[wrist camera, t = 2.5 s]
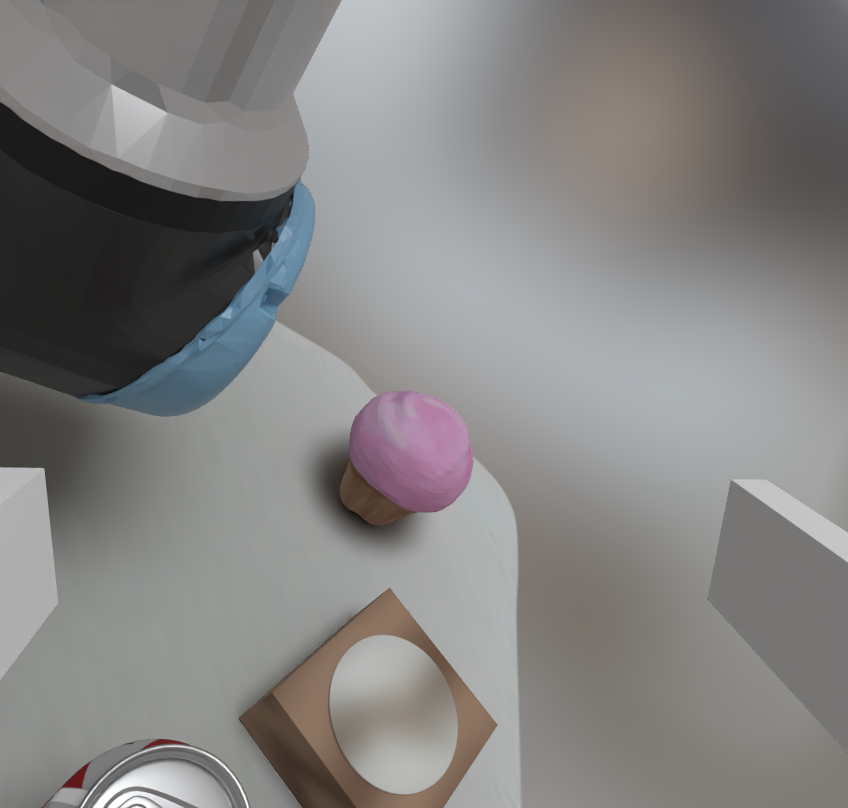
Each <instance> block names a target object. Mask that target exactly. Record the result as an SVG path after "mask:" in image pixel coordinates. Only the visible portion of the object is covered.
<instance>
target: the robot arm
mask: <svg viewBox="0 0 848 808" xmlns="http://www.w3.org/2000/svg"><path fill="white" fill-rule="evenodd" d="M340 2H341V0H0V372H3V373H6V374H9V375H12V376H15V377H18V378H21V379H24V380H27V381H30V382H33V383H36V384H39V385H42V386H45V387H48V388H51V389H54V390H57V391H60V392H63V393H66V394H69V395H71V396H74V397H76V398H78V399H79V400H82V401H84V402H88V403H98V404H102V403H108V404H112V405H116V406H120V407H124V408H127V409H131V410H135V411H139V412H143V413H147V414H151V415H156V416H164V417H166V416H178V415H182V414H186V413H189V412H191V411H194V410H196V409H198V408H200V407H202V406H203V405H205V404H206V403H208V402H209V401H211V400H212V399H214V398H215V397H216V396H217V395H218V394H219V393H220V392H222V391H223V390H224V389H225V388H226V387H227V386H228V385H229V384H230V383H231V382H232V381H233V380H234V379H235V378H236V377H237V375H238V374H239V373H240V372H241V371H242V370H243V368H244V367H245V366H246V365H247V363H248V362H249V361H250V360H251V358H252V357H253V355H254V354H255V353H256V351H257V350H258V349H259V347H260V346H261V344H262V343H263V341H264V340H265V338H266V337H267V335H268V334H269V332H270V330H271V329H272V327H273V325H274V323H275V320H276V312H277V308H278V306H279V305H280V304H281V303H282V301H283V300H284V299H285V298H286V297H287V296H288V295H289V294H290V293H291V291H292V289H293V287H294V285H295V283H296V281H297V279H298V276H299V274H300V272H301V270H302V267H303V264H304V262H305V259H306V256H307V253H308V250H309V247H310V243H311V239H312V235H313V230H314V223H315V203H314V200H313V198H312V195H311V193H310V191H309V189H307V187H306V186H304V185H303V184H302V182H301V180H300V178H301V176H302V174H303V172H304V170H305V168H306V165H307V162H308V158H309V146H308V140H307V135H306V131H305V129H304V126H303V123H302V120H301V117H300V114H299V111H298V108H297V105H296V102H295V99H294V96H293V92H294V91H295V89H296V86H297V84H298V83H299V81H300V79H301V77H302V75H303V73H304V71H305V69H306V67H307V66H308V64H309V62H310V60H311V58H312V56H313V54H314V52H315V50H316V48H317V46H318V45H319V43H320V41H321V39H322V37H323V35H324V33H325V31H326V29H327V27H328V25H329V23H330V21H331V20H332V18H333V16H334V14H335V12H336V10H337V8H338V6H339V4H340ZM707 600H708V601H709V602H710V603H711V604H712V605H713V606H714V607H715V608H716V610H717V611H718V612H719V613H720V614H721V615H722V616H723V617H724V618H725V619H726V621H727V622H728V623H729V624H730V625H731V626H732V627H733V628H734V629H735V630H736V631H737V633H738V634H739V635H740V636H741V637H742V638H743V639H744V640H745V641H746V643H747V644H748V645H749V646H750V647H751V648H752V649H753V650H754V651H755V652H756V654H757V655H758V656H760V658H761V659H762V660H763V661H764V662H765V663H766V664H767V666H768V667H769V668H770V669H771V670H772V671H773V672H774V673H775V674H776V675H777V677H778V678H779V679H780V680H781V681H782V682H783V683H784V684H785V685H786V686H787V687H788V689H789V690H790V691H791V692H792V693H793V694H794V695H795V696H796V697H797V699H798V700H799V701H800V702H801V703H802V704H803V705H804V706H805V707H806V708H807V709H808V711H809V712H810V713H811V714H812V715H813V716H814V717H815V718H816V719H817V720H818V722H819V723H820V724H821V725H822V726H823V727H824V728H825V729H826V730H827V731H828V732H829V734H830V735H831V736H832V737H833V738H834V739H835V740H836V741H837V742H838V744H839V745H840V746H841V747H842V748H843V749H844V750H845V751H846V752H847V753H848V533H847V532H846V531H844V530H842V529H841V528H839V527H838V526H836V525H834V524H833V523H832V522H830V521H829V520H827V519H826V518H824V517H822V516H821V515H819V514H818V513H816V512H815V511H813V510H812V509H810V508H809V507H807V506H806V505H804V504H803V503H801V502H799V501H798V500H796V499H795V498H793V497H792V496H790V495H789V494H787V493H786V492H784V491H783V490H781V489H780V488H778V487H776V486H775V485H773V484H772V483H770V482H769V481H767V480H737V479H734V480H733V479H731V482H730V487H729V492H728V497H727V502H726V507H725V512H724V518H723V523H722V528H721V533H720V538H719V543H718V548H717V554H716V558H715V563H714V568H713V573H712V578H711V583H710V588H709V594H708V598H707ZM57 604H58V596H57V586H56V576H55V567H54V557H53V547H52V538H51V528H50V518H49V509H48V499H47V490H46V480H45V470H44V468H4V467H0V680H1V678H2V677H3V676H4V674H5V673H6V672H7V670H8V669H9V668H10V666H11V665H12V664H13V662H14V661H15V660H16V658H17V657H18V656H19V654H20V653H21V652H22V650H23V649H24V648H25V646H26V645H27V644H28V642H29V641H30V640H31V639H32V637H33V636H34V635H35V633H36V632H37V631H38V629H39V628H40V627H41V625H42V624H43V623H44V621H45V620H46V619H47V617H48V616H49V615H50V613H51V612H52V611H53V609H54V608H55V607H56V605H57Z"/></svg>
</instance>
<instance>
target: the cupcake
mask: <svg viewBox="0 0 848 808" xmlns="http://www.w3.org/2000/svg"><path fill="white" fill-rule="evenodd" d="M349 452H350V459H349V460H348V462H347V464H346V469H345V473H344V475H343V478H342V481H341V485H340V498H341V500H342V502H343V504H344V505H345V506H346V508H347V509H349V510H351V511H354V512H355V513H357V514H359V515H360V516H361V517H362V518H363V519H364V520H365V521H367V522H368V523H370V524H371V525H375V526H380V525H384V524H388V523H391V522H393V521H396V520H398V519H400V518H402V517H404V516H406V515H409V514H412V513H416V512H437V511H440V510H442V509H444V508H446V507H447V506H449V505H450V504H452V503H453V502H454V501H455V500H456V499H457V498H458V497H459V496H460V494H461V493H462V492H463V491H464V489H465V488H466V486H467V485H468V482H469V480H470V477H471V472H472V468H473V452H472V448H471V444H470V439H469V434H468V430H467V427H466V425H465V423H464V421H463V419H462V418H461V416H460V415H459V414H458V413H457V412H456V411H455V410H454V409H452V408H451V407H450V406H448V405H447V404H446V403H444V402H443V401H441V400H439V399H437V398H435V397H432V396H429V395H423V394H420V393H418V392H410V391H407V392H406V391H405V392H404V391H403V392H402V391H395V392H387V393H383V394H381V395H379V396H376V397H374V398H373V399H371V401H370V402H369V403H368V404H367V405H366V406H365V407H364V408H363V409H362V410H361V411H360V412H359V413H358V415H357V416H355V419H354V421H353V424H352V428H351V433H350V443H349Z"/></svg>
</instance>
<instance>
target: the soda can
mask: <svg viewBox="0 0 848 808" xmlns="http://www.w3.org/2000/svg"><path fill="white" fill-rule="evenodd" d="M42 808H250V804H249V801H248V798H247V795H246V793H245V791H244V789H243V787H242V785H241V783H240V781H239V780H238V778H237V777H236V775H235V774H234V773H233V771H232V770H231V769H230V768H229V767H228V766H227V765H226V764H225V763H224V762H223V761H221V760H220V759H219V758H217V757H216V756H215V755H213V754H211V753H209V752H208V751H205V750H203V749H201V748H198V747H195V746H191V745H189V744H186V743H182V742H179V741H174V740H167V739H147V740H139V741H135V742H131V743H127V744H124V745H121V746H118V747H116V748H114V749H111V750H109V751H107V752H105V753H103V754H102V755H100V756H98V757H96V758H95V759H93V760H92V761H90V762H89V763H87V764H86V765H85V766H84V767H82V768H81V769H80V770H79V771H77V772H76V773H75V774H74V775H73V776H72V777H71V778H70V779H69V780H68V781H67V782H66V783H65V784H64V785H63V786H62V787H61V788H60V789H59V790H58V791H57V792H56V793H55V794H54V795H53V796H52V797H51V798H50V799H49V800H48V801H47V802H46V804H45V805H44V806H43V807H42Z"/></svg>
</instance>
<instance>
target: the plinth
mask: <svg viewBox="0 0 848 808" xmlns="http://www.w3.org/2000/svg"><path fill="white" fill-rule="evenodd" d="M239 719H240V721H241V722H242V723H243V725H244V726H245V728H246V729H247V730H248V732H249V733H250V735H251V736H252V737H253V739H254V740H255V741H256V743H257V744H258V746H259V747H260V748H261V750H262V751H263V753H264V754H265V755H266V757H267V758H268V760H269V761H270V762H271V764H272V765H273V767H274V768H275V769H276V771H277V772H278V773H279V775H280V776H281V778H282V779H283V780H284V782H285V783H286V785H287V786H288V787H289V789H290V790H291V792H292V793H293V794H294V796H295V797H296V799H297V800H298V801H299V803H300V804H301V805H302V807H303V808H443V807H444V806H445V804H446V803H447V801H448V800H449V798H450V797H451V795H452V794H453V792H454V791H455V789H456V787H457V786H458V784H459V783H460V781H461V780H462V778H463V777H464V775H465V774H466V772H467V771H468V769H469V768H470V766H471V765H472V763H473V762H474V760H475V759H476V757H477V755H478V754H479V752H480V751H481V749H482V748H483V746H484V745H485V743H486V742H487V740H488V739H489V737H490V736H491V734H492V733H493V731H494V730H495V728H496V727H497V724H496V722H495V721H494V720H493V719H492V717H491V716H490V715H489V713H488V712H487V711H486V710H485V708H484V707H483V706H482V705H481V703H480V702H479V701H478V700H477V698H476V697H475V696H474V694H473V693H472V692H471V691H470V689H469V688H468V687H467V686H466V684H465V683H464V682H463V680H462V679H461V678H460V677H459V675H458V674H457V673H456V672H455V670H454V669H453V668H452V667H451V665H450V664H449V663H448V661H447V660H446V659H445V658H444V656H443V655H442V654H441V653H440V651H439V650H438V649H437V647H436V646H435V645H434V644H433V642H432V641H431V640H430V639H429V637H428V636H427V635H426V634H425V632H424V631H423V630H422V628H421V627H420V626H419V625H418V623H417V622H416V621H415V620H414V618H413V617H412V616H411V615H410V613H409V612H408V611H407V609H406V608H405V607H404V606H403V604H402V603H401V602H400V601H399V599H398V598H397V597H396V595H395V594H394V593H393V592H392V590H391V589H390V588H389V589H387V590H386V591H385V592H384V593H382V594H381V595H380V596H379V597H377V598H376V599H375V600H374V601H373V602H371V603H370V604H369V605H368V606H366V607H365V608H364V609H363V610H361V611H360V612H359V613H358V614H356V615H355V616H354V617H353V618H352V619H351V620H350V621H348V622H347V623H346V624H345V625H344V626H343V627H342V628H340V629H339V630H338V631H337V632H336V633H335V634H334V635H333V636H331V637H330V638H329V639H328V640H327V641H326V642H325V643H324V644H322V645H321V646H320V647H319V648H318V649H317V650H316V651H314V652H313V653H312V654H311V655H310V656H309V657H308V658H307V659H305V660H304V661H303V662H302V663H301V664H300V665H299V666H297V667H296V668H295V669H294V670H293V671H292V672H291V673H290V674H288V675H287V676H286V677H285V678H284V679H283V680H282V681H280V682H279V683H278V684H277V685H276V686H275V687H274V688H273V689H271V690H270V691H269V692H268V693H267V694H266V695H265V696H263V697H262V698H261V699H260V700H259V701H258V702H257V703H256V704H254V705H253V706H252V707H251V708H250V709H249V710H248V711H246V712H245V713H244V714H243V715H242V716H241V717H240V718H239Z"/></svg>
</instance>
